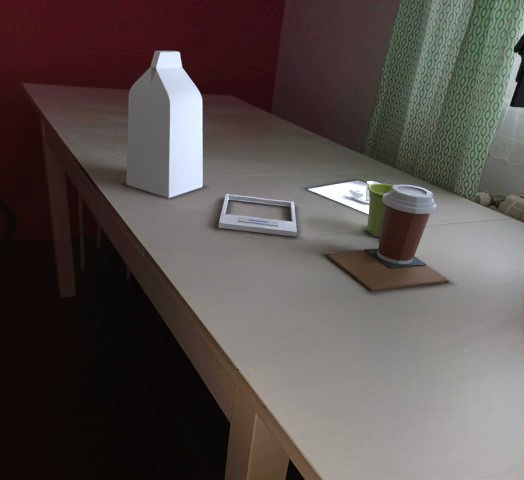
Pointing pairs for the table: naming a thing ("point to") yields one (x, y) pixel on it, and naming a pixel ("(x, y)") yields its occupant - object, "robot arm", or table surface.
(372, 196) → the plant pot
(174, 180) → the milk
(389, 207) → the coffee cup
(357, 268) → the placemat
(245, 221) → the photo frame
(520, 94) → the robot arm
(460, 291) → the table surface
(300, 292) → the table surface
